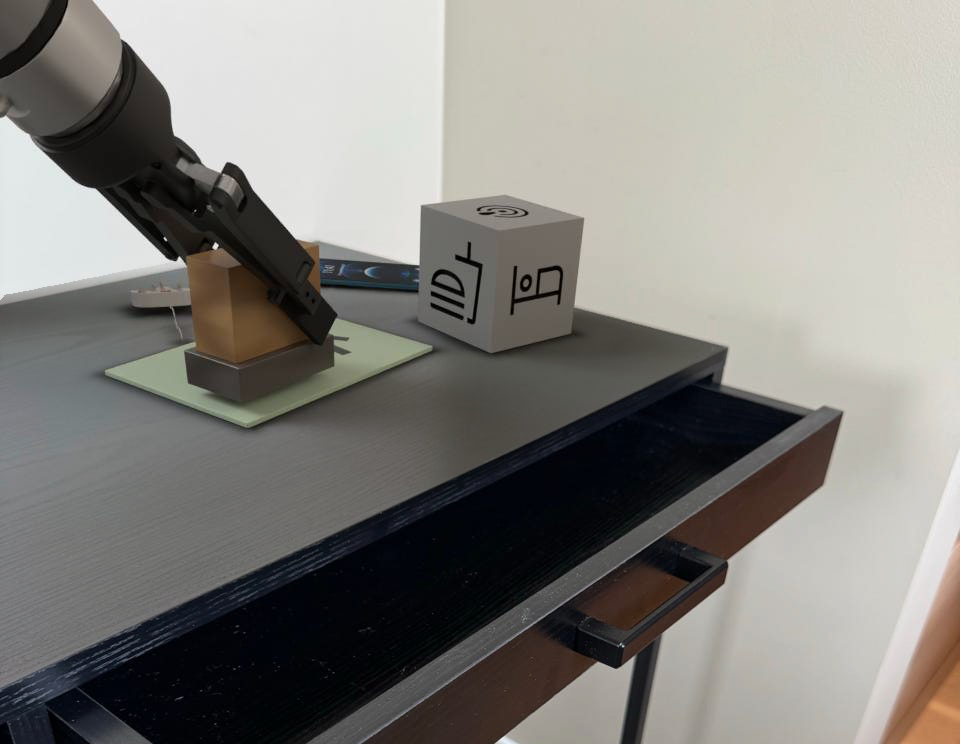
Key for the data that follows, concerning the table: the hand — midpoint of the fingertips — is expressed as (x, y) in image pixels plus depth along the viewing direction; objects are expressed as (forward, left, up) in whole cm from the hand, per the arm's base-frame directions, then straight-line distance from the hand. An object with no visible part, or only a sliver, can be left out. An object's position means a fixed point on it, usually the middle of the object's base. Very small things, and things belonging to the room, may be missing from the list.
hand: (294, 319), depth 74 cm
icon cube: (+5, +21, -5) cm, 22 cm away
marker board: (-3, +1, -5) cm, 6 cm away
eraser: (0, -4, -3) cm, 5 cm away
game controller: (-17, +2, -5) cm, 18 cm away
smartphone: (-13, +25, -5) cm, 29 cm away
